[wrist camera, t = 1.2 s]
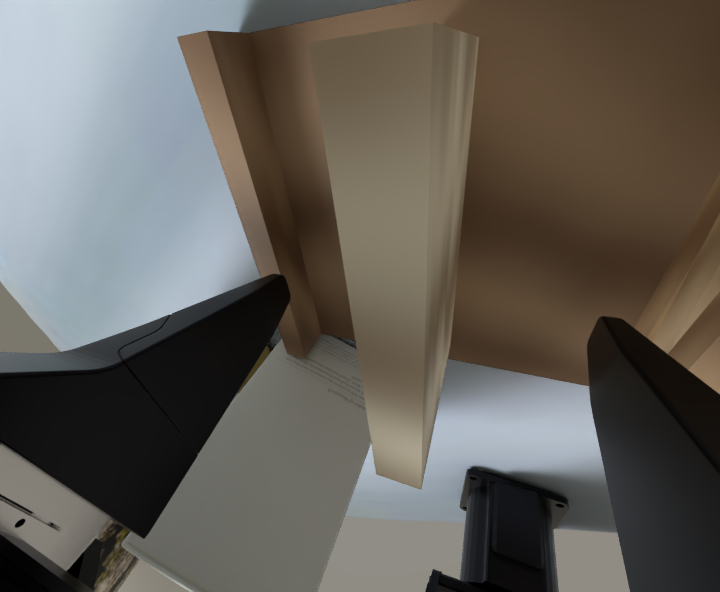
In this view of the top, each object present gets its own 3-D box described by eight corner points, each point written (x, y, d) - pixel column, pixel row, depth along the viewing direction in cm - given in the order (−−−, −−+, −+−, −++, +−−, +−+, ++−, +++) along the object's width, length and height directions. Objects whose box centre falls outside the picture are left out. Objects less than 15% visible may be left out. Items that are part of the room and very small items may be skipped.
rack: (712, 395, 13) (749, 460, 11) (310, 322, 20) (287, 353, 18) (1206, -147, 5) (1698, -284, 3) (235, 39, 12) (177, 36, 10)
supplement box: (296, 314, 20) (111, 545, 11) (400, 369, 19) (301, 660, 10) (282, 372, 25) (147, 564, 16) (364, 417, 24) (275, 642, 15)
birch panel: (450, 345, 16) (421, 489, 11) (418, 339, 16) (376, 474, 11) (479, 36, 9) (433, 22, 4) (421, 45, 9) (308, 43, 4)
